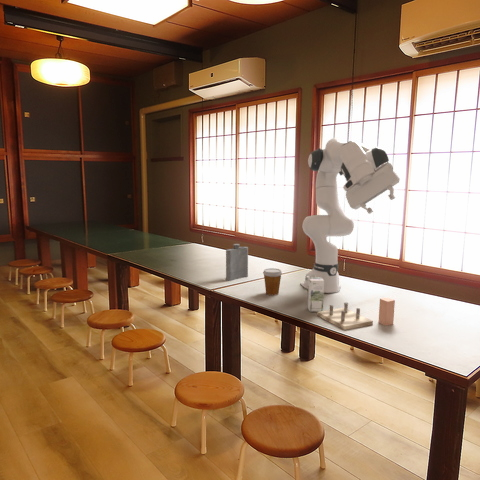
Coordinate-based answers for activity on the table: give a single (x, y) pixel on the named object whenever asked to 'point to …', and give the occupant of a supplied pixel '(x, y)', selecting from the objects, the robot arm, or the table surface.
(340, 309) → the peg board
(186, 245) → the table surface
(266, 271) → the disposable coffee cup
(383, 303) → the terracotta block
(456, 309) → the table surface
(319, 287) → the syrup box
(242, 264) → the hip flask
